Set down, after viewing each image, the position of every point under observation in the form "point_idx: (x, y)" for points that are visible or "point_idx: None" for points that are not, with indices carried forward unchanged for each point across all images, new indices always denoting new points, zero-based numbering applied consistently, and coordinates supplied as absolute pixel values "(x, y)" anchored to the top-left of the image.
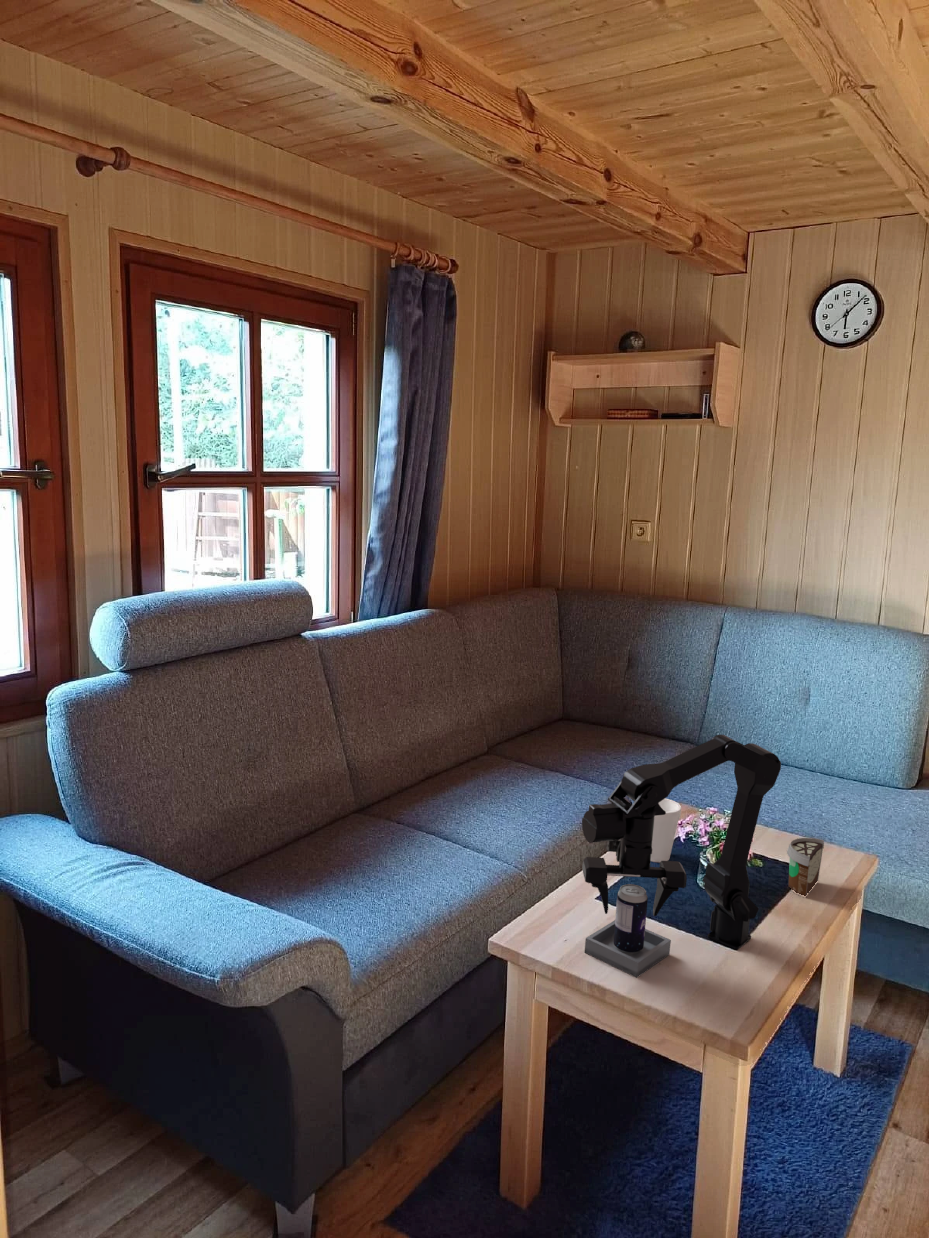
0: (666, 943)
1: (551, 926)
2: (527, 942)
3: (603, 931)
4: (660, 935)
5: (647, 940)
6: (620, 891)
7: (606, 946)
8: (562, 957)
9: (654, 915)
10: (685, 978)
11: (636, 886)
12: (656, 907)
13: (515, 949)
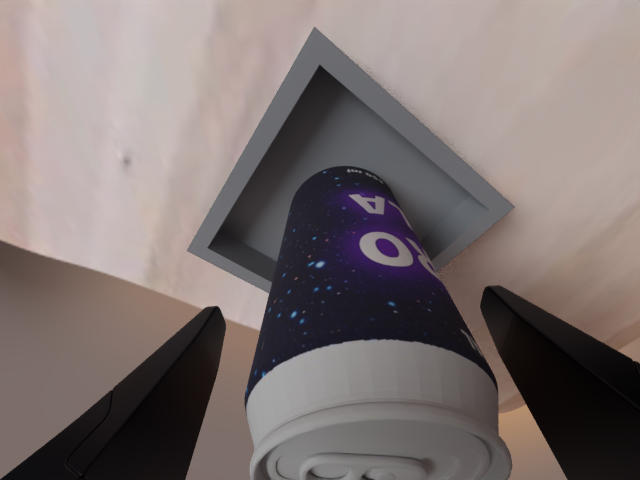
0: (484, 230)
1: (27, 58)
2: (18, 200)
3: (244, 187)
4: (483, 181)
5: (424, 154)
6: (260, 469)
7: (264, 285)
8: (153, 256)
9: (483, 315)
10: (479, 289)
11: (439, 407)
12: (516, 383)
13: (11, 242)
